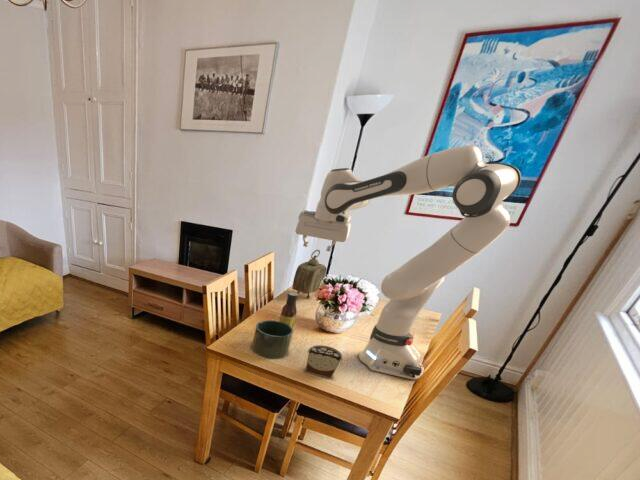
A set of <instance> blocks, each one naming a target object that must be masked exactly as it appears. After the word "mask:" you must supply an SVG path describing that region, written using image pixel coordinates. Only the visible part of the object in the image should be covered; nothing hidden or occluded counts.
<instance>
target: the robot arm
mask: <svg viewBox="0 0 640 480" xmlns="http://www.w3.org/2000/svg"><path fill="white" fill-rule="evenodd" d="M521 183H522V173H521V171H520V170H519V168H517V167H516V166H514V165H511V164H509V163H504V162H498V161H492V160H490V161H487V162H484V161H483V153H482V151H481V149H480V148H479V147H478V146H476V145H475V144H467V145H460V146H455V147H451V148H446V149H443V150H439V151H437V152H433V153H431V154H428V155H425V156H423V157H420V158H418V159H416V160H413V161H411V162H409V163H407V164H405V165H403V166H400V167H398V168H396V169H394V170H392V171H389V172H388V173H385V174H383V175H380V176H377V177H374V178H370V179H366V180H363V179H361V178H359V177H358V176H356V174H354V172H353V170H352V168H348V167H341V168H333V169H331V170H329V171H328V173H327V175H326V176H325V179H324V181H323V184H322V187H321V190H320V198H319V201H318V203H317V205H316V208H315V211H312V210H307V209H305V210H303V211H301V212H299V214H298V223H297V224H296V228H295V234H297V235H301V236H302V241H303V246H302V247H305V248H307V247H308V246H309V243H310V241H308V240H307V238H308V237H311V238H318V239H323V240H327V241H331V245H327V247H326V249H325V251H326V252H332V248H333V247H334V246H335V245H336V244H337V243H338V242H339V243H345V242H346V241H348V238H349V236H350V231H351V222H350V221H351V218H352V214H351V213H350V212H349V211H353V210H359V209H361V208H363V207H366V206H367V205H368V204H369V203H370V201H371V200H373V199H377V198H382V197H388V196H408V195H419V194H420V195H421V194H427V193H431V192H436V191H439V190H440V191H441V190H444V189H447V188H453V189H452V201H453V204H454V205H455V206H456V208H458V211H459V214H460V215H461V216H462V217H463V218H462V219H461V220H460V221H459V222H457V223H456V224H455V225H453V227H451V228H450V229H449V230H448V231H447V232H446V233H444V234H443V235H442V236H440V237H439V238H438V239H437V240H435V242H433V243H432V244H431V245H430V246H428V247H427V248H425V249H424V250H422V251H421V252H419V253H418V254H416V255H415V256H413V257H411V258H410V259H409V260H408V261H406V262H405V263H404V264H402V265H401V266H399V267H398V268H397V269H395V270H393V271H392V272H390V273H388V274H387V275H386V276H385V277H384V278H383V279H382V281H381V285H380V290H381V293H382V295H383V296H384V297H385V298H387V299H388V300H389V301H388V302H387V303H386V304H385V305H384V306H383V308H382V310H381V312H380V315H379V318H378V320H377V322H376V324H375V325H374V326H373V328H372V330H371V332H370V335H369V340H368V342H367V344H366V345H365V347H364V348H363V350H362V351H361V352H360V353H359V354H358V358H359V360H360V361H361V362H362V363H363V364H365V365H366V366H367V367H368V368H369V369H370V370H371V371H373V372H377V373H382V374H386V375H390V376H396V377H398V378H399V377H400V378H404V379H408V380H412V381H413V380H414V381H416V380H419V379H421V377H422V376H423V374H424V370H425V367H424V365H423V364H422V363H421V362H422V361H421V359H422V356H421V352H420V351H419V350H418V349H417V348H416V347H415V346H414V345H413V343H414V340H413V339H414V333H411V332H410V331H411V329H412V327H413V325H414V323H415V321H416V319H417V316H418V315H419V313H420V312H421V311H422V309H423V308H424V307H425V305H426V303H428V301H429V299H430V298H431V297H432V295H433V294H434V292H435V291H436V290H437V288H438V287H439V286H440V285H442V284H443V283H444V281H445V278H446V276H448V275H449V274H450V273H452V272H454V271H456V270H458V269H459V268H460V267H461V266H463V265H464V264H466V263H467V262H468V261H470V260H471V259H473V258H474V257H475V256H477V255H478V254H479V253H481V252H483V251H484V250H485V249H486V248H487V247H488V246H490V245H491V244H492V243H493V242H495V240H497V239H498V238H499V237H500V236H501V235H502V234H503V233H504V232H505V231H506V230H507V229H508V228H509V226H510V224H511V222H512V219H511V215H510V213H509V211H508V210H507V209H506V208H505V207H504V201H506V200H507V199H509V198H510V197H511V196H512V195H514V193H515V192H516V191H517V190H518V188H519V187H520V185H521ZM348 212H349V213H348Z"/></svg>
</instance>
